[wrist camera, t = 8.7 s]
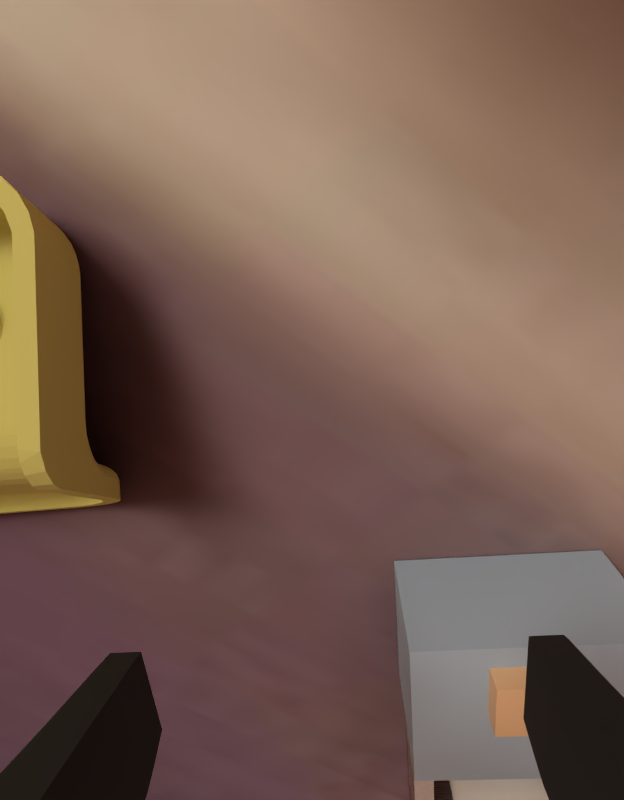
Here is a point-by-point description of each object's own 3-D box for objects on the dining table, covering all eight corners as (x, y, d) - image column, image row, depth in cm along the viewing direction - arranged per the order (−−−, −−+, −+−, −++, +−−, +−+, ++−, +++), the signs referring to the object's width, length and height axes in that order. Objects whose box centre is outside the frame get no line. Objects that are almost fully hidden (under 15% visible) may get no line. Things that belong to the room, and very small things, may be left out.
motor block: (601, 550, 20) (690, 663, 15) (587, 667, 22) (661, 801, 17) (393, 560, 20) (413, 673, 15) (399, 673, 22) (417, 805, 18)
